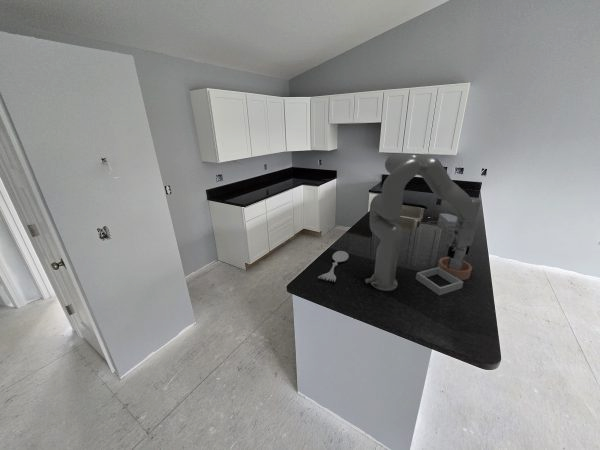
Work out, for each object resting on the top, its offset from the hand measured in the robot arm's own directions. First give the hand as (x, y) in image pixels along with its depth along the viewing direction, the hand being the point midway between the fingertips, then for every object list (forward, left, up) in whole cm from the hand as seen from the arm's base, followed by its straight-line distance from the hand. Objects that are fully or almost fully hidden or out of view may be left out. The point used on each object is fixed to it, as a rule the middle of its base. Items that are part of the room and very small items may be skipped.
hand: (457, 255), depth 127 cm
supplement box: (+47, +40, -10) cm, 62 cm away
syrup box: (0, 0, -9) cm, 9 cm away
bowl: (0, 0, -10) cm, 10 cm away
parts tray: (-15, -5, -10) cm, 19 cm away
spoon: (-54, +27, -10) cm, 62 cm away
